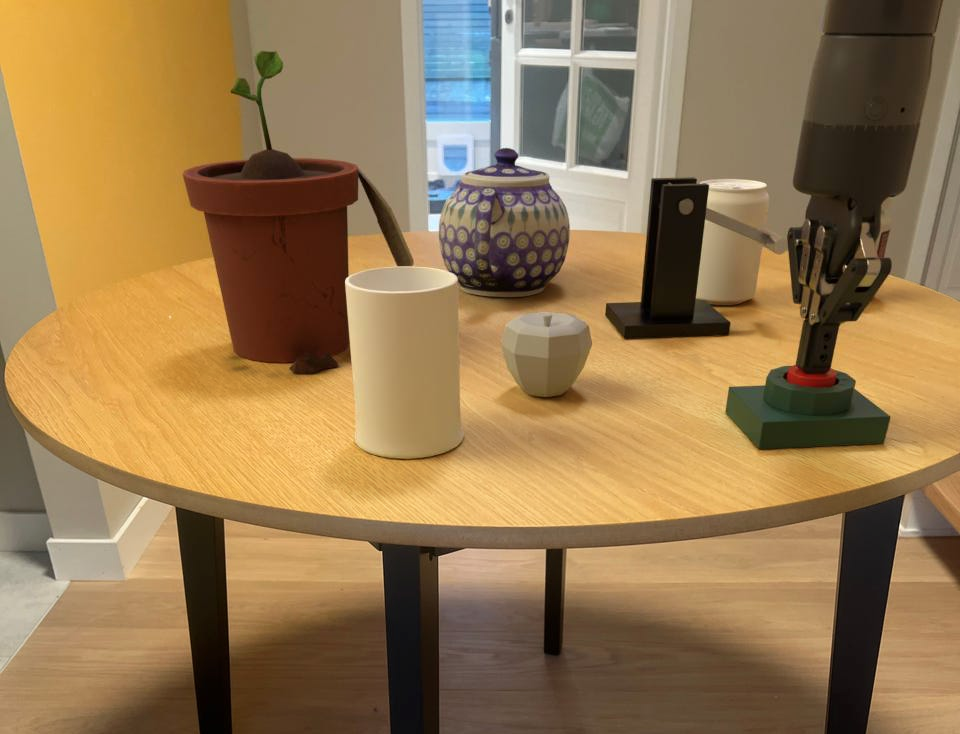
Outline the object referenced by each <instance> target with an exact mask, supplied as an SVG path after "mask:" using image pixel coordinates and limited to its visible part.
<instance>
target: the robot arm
mask: <svg viewBox="0 0 960 734" xmlns="http://www.w3.org/2000/svg"><path fill="white" fill-rule="evenodd" d="M944 3H945V0H826V2H825V8H824V12H823V13H824V14H823V21H822V26H821V35H820V36H819V37H820V38H819V42H818V46H817V50H816V53H815V57H814V61H813V63H812V67H811V70H810V75H809V79H808V86H807V92H806V98H805V105H804V110H803V115H802V122H801V129H800V134H799V140H798V145H797V146H798V147H797V152H796V159H795V165H794V171H793V175H792V176H793V177H792V186H793V188H794V189H795V190H796V191H797V192H799V193H801V194H804V195H807V196H810V198H809V201H808V203H807V206H806V209H805V214H804V219H805V220H804V221H803V225H802V226H791V227H789V229H788V230H787V235H786V240H787V242H788V249H787V252H788V264H789V273H790V284H791V294H792V302H793V304H795V305H800V308H799V316H800V318H801V319H803V322H802V327H801V332H800V339H799V342H798V343H799V344H798V348H797V355H796V360H795V365H796V366H797V367H798V368H799V369H800V370H801V371H803V372H804V373H805V374H825V373H827V372H828V371H829V370H830V368H832V363H833V358H834V354H835V349H836V343H837V339H838V334H839V331H840V326H841V325H844V324H845V323H848V322H849V323H850V322H857V321H858V320H859V319H860V317H861V316H862V314H863V312H864V311H865V310H866V308H867V307H868V306H869V304H870V303H871V301H872V300H873V299H874V298H875V296H876V295H877V293H878V291H879V290H880V288H881V287H882V286H883V284H884V282H885V281H886V280H887V278H888V277H889V276H890V273H891V272H892V268H893V267H892V266H893V264H892V259H891V258H890V257H884V258H878V255H877V251H876V247H875V243H876V241H877V239H878V237H879V234H880V230H881V206H882V203H883V202H884V201H885V200H886V199H887V198H888V197H892V198H895V197H898V196H899V195H902V193H904V191H906V188H907V186H908V181H909V177H910V172H911V168H912V163H913V159H914V154H915V150H916V145H917V141H918V136H919V133H920V128H921V123H922V119H923V114H924V110H925V106H926V101H927V97H928V92H929V88H930V83H931V78H932V73H933V72H932V71H933V63H934V52H935V44H936V39H937V35H936V34H937V33H938V28H939V24H940V20H941V15H942V11H943V6H944ZM874 295H875V296H874Z"/></svg>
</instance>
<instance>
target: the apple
mask: <svg viewBox="0 0 960 734" xmlns="http://www.w3.org/2000/svg"><path fill="white" fill-rule="evenodd" d="M499 345H500V348H501V351H502V354H503V358H504V362H505V364H506V368H507V369H508V371H509V373H510V375H511V376H512V379H513V381H514V382H515V383H516V385H517V386H518V387H519V388H520V389H521V390H523V392H525V393H526V394H528V395H529V396H535V397H541V398H551V397H557V396H562V395H563V394H564V393H566V391H568V390H569V388H570V387H571V386H573V385H574V383H575V382H576V381H577V379H578V377H579V376H580V374H581V373H582V371H583V370H584V368H585V365H586V363H587V361H588V358H589V356H590V352H591V349H592V347H593V339H592V335H591V331H590V325H589V324H588V323H586V321H585V320H582V319H580V318H579V317H577V316H576V315H574V314H570V313H563V312H553V311H539V312H532V313H531V312H530V313H522V314H518V316H515V317H514V318H513V319H511V320H510V321H509V322H508V323H506V324H505V326H504V330H503V333H502V336H501V340H500V344H499Z"/></svg>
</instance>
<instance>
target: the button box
mask: <svg viewBox="0 0 960 734" xmlns="http://www.w3.org/2000/svg"><path fill="white" fill-rule="evenodd" d="M791 366H792V365H783V366H779V367H777V368H773V369H770V371H769V372H768V374H767V376H766V378H765V384H764V385H763V384H762V385H741V386H738V385H737V386H729V387H728V389H727V390H728V391H727V399H726V403H725V405H726V406H725V412H724V413H725V414H726V415H727V416H728V417H729V418H730V419H731V421H732V422H733V423H734V424H735V425H736V426H737V427H738V428H739V429H740V430H741V431H742V433H743V434H744V435H745V436H746V438H748V439H749V441H750V442H752V444H753V445H754V446H755V447H756V448H757V449H758V450H771V449H773V450H774V449H793V448H814V447H815V448H816V447H836V446H837V447H838V446H858V445H859V446H860V445H877V444H878V445H879V444H885V442H886V437H887V434H888V429H889V425H890V421H891V415H890V414H888V413H887V412H886V411H884V410H883V409H882V408H880V407H879V406H878V405H877V404H875V403H874V402H873V401H871V400H870V399H869V398H868V397H866V396H865V395H864V394H863V393H861V392H859V390H857V389H856V388H855V387H856V383H857V380H856V379H854V378H853V377H852V376H851V375H849V374H848V373H846V372H844V371H841V370H837V369H834V370H835V371H836V372H837V376H836V380H835V385H834V386H831V387H819V388H815V387H807V386H799V385H796V384H793V383H790V382H787V381H786V380H787V374H788V369H789V368H790V367H791Z"/></svg>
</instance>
